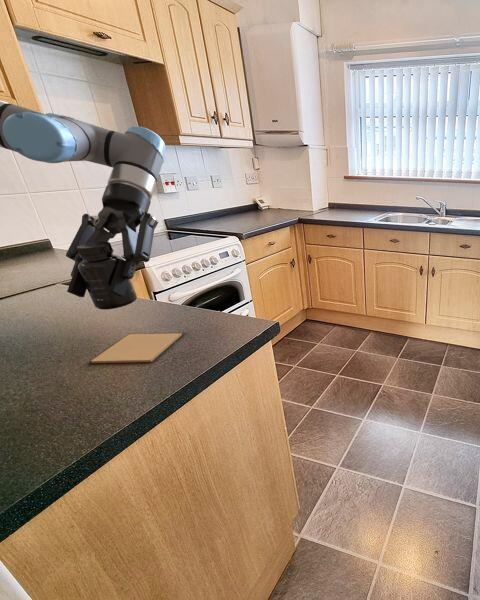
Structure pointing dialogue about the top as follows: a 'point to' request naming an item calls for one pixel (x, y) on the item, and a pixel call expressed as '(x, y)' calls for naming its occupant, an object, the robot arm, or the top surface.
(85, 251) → the supplement bottle
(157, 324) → the top surface
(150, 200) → the robot arm
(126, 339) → the cork mat
